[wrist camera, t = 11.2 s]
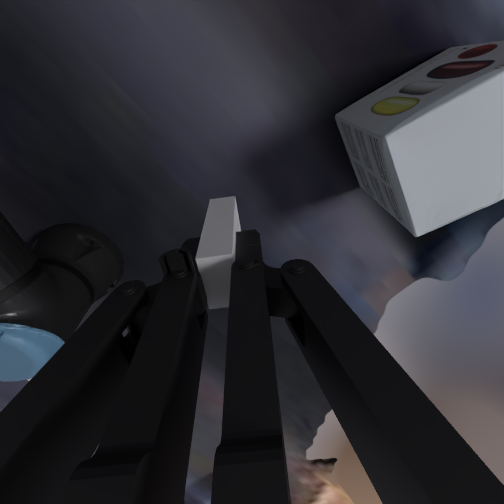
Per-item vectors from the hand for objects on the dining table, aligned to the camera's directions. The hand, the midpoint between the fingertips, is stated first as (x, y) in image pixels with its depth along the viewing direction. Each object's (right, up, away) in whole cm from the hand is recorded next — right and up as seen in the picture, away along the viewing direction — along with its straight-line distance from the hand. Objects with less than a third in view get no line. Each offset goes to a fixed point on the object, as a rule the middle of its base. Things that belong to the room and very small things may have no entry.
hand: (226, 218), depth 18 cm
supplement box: (+24, +17, +26) cm, 40 cm away
